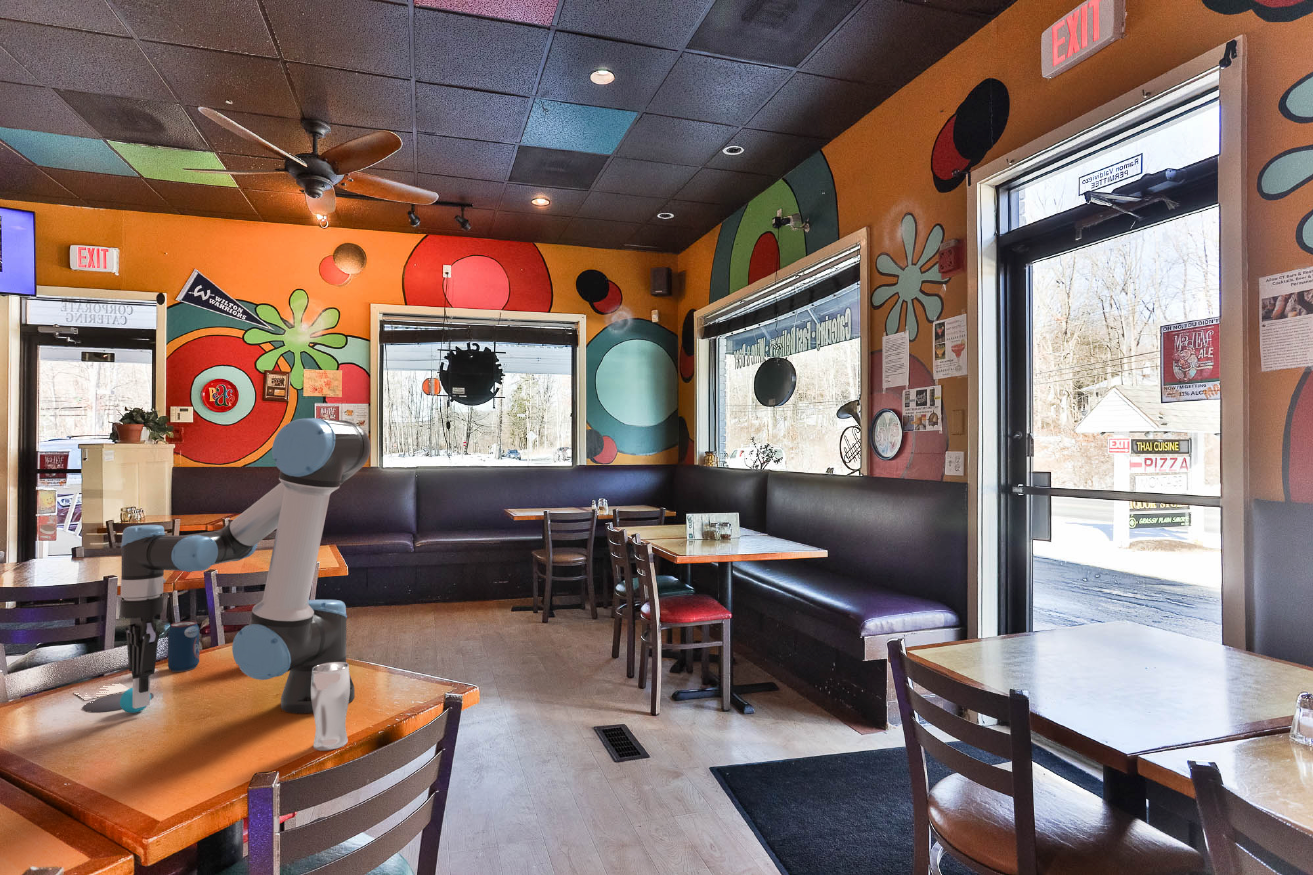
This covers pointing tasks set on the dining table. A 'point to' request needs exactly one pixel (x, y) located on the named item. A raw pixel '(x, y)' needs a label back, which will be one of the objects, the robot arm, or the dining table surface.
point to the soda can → (183, 646)
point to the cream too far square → (112, 690)
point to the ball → (129, 702)
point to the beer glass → (330, 704)
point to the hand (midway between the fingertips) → (141, 706)
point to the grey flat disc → (106, 703)
